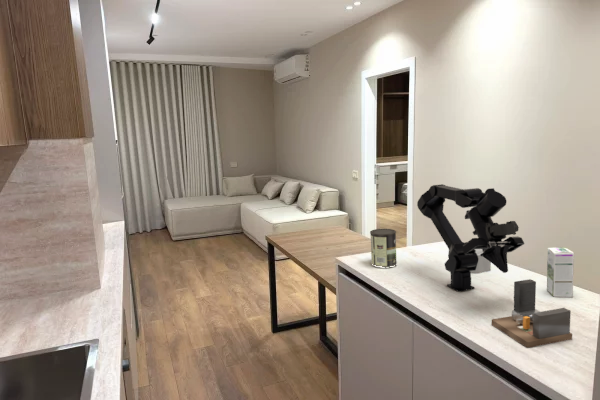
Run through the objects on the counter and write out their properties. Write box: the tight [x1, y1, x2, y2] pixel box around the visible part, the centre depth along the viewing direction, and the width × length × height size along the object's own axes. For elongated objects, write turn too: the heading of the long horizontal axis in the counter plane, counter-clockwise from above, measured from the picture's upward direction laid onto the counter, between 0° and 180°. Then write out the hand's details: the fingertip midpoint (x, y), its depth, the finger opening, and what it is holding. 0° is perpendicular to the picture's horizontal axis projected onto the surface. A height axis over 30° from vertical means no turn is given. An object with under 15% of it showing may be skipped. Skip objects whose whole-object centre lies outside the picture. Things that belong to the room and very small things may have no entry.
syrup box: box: [546, 246, 575, 298], centre depth 130 cm, size 6×6×14 cm
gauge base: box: [491, 307, 573, 349], centre depth 108 cm, size 13×13×8 cm
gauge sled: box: [511, 278, 541, 325], centre depth 110 cm, size 6×7×10 cm
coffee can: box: [369, 228, 398, 267], centre depth 169 cm, size 10×10×14 cm
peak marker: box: [523, 316, 530, 329], centre depth 106 cm, size 1×1×3 cm
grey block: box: [470, 249, 492, 275], centre depth 159 cm, size 10×13×9 cm
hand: (505, 272), depth 118 cm, fingers closed
